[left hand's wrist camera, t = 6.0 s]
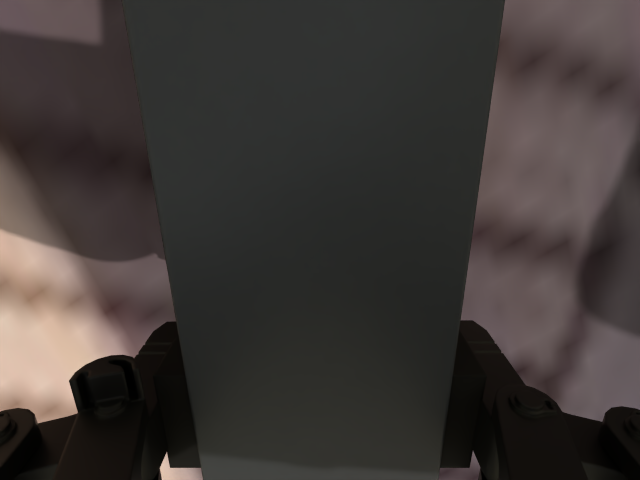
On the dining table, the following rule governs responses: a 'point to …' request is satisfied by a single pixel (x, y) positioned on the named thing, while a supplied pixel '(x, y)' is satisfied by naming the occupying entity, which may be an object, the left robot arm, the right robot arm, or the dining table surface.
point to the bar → (316, 220)
